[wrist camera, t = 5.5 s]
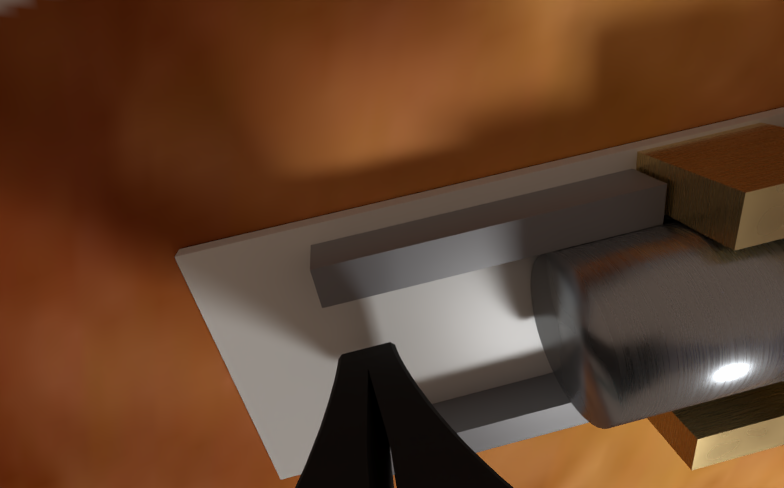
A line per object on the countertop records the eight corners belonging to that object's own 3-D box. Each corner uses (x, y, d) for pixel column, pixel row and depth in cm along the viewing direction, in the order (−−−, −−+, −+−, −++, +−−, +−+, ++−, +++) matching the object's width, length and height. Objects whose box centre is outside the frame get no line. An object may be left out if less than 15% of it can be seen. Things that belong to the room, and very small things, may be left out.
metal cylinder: (741, 324, 13) (916, 392, 9) (544, 376, 12) (634, 470, 8) (730, 189, 12) (913, 196, 8) (520, 240, 12) (605, 273, 8)
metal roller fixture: (833, 322, 15) (888, 353, 13) (281, 468, 14) (277, 518, 12) (918, 75, 11) (1005, 81, 10) (179, 249, 10) (157, 284, 9)
